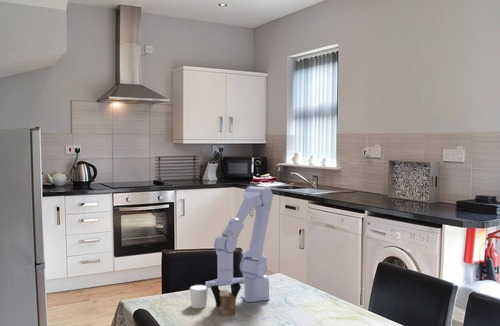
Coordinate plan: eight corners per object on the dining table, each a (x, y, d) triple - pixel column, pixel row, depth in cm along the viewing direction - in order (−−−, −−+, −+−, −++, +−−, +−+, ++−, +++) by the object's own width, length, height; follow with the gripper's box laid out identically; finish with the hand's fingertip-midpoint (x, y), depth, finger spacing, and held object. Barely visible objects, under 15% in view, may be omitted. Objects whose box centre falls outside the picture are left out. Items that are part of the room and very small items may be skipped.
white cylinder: (205, 309, 165) (204, 290, 164) (187, 308, 166) (187, 289, 166) (210, 303, 172) (210, 285, 171) (193, 301, 173) (193, 283, 173)
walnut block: (227, 305, 170) (227, 289, 169) (235, 314, 160) (235, 298, 160) (215, 306, 168) (215, 290, 168) (223, 316, 159) (223, 299, 158)
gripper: (208, 273, 157) (209, 311, 158) (247, 269, 162) (247, 306, 163) (203, 268, 164) (204, 304, 164) (241, 264, 169) (241, 299, 169)
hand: (225, 304), depth 164 cm, fingers open, 5 cm apart
